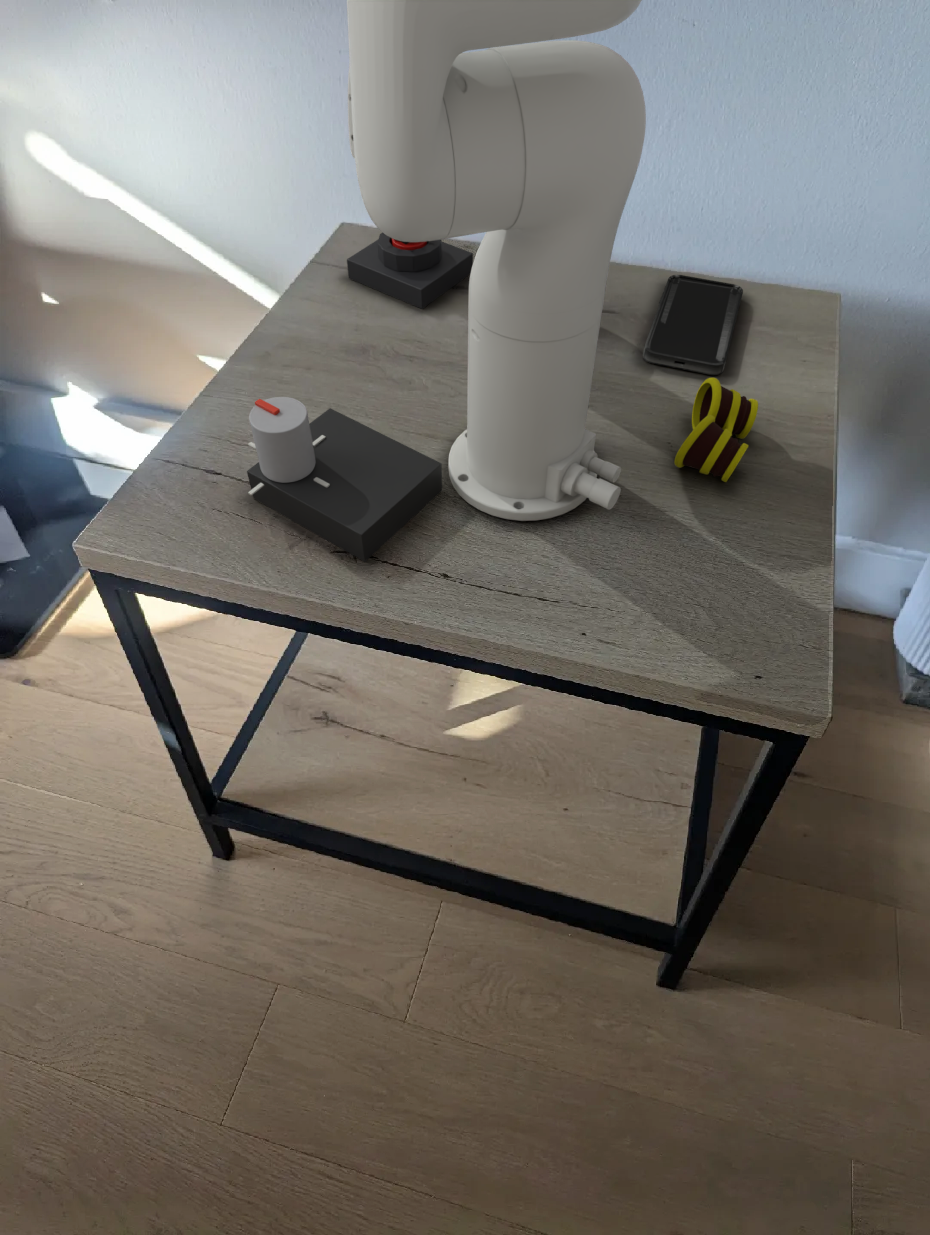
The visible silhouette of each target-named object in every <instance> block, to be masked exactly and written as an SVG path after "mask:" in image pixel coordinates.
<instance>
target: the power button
mask: <svg viewBox="0 0 930 1235" xmlns="http://www.w3.org/2000/svg"><path fill="white" fill-rule="evenodd" d="M392 245H393V246H394V247H396V248H399V249H401V250H415V249H420V248H423V247H424V246H426V245H427V241H425V242H409V243H408V244H404V243H402V242H401V241H396V240H394V239H393V238H392Z"/></svg>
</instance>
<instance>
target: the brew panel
mask: <svg viewBox="0 0 930 1235" xmlns="http://www.w3.org/2000/svg"><path fill="white" fill-rule="evenodd" d="M309 424H310V430H311V436H312V442H313V448H314V454H315V460H316V463H315V467H314V469H313V471H312V472H311V473H310V474H309V475H308V476H306V477H305V478H303V479H301V480H298V481H295V482H289V483H281V482H275V481H272V480H270V479H268V478H267V477H266V476H264V474H263V473H262V471H261V469H260V464H259V461H258V462H256V463H255V464H254V465H253V466H251V467H250V468H249V469H247V470H246V474H247V477H248V482H249V486H250V490H249V491H248V492H247V494H248V495H250V496H252V497H253V499H254V500H255V501H258V502H259V503H261V504H262V505H265V506H266V507H268V508H269V509H271V510H273V511H275V512H276V513H278V514H280V515H282V516H284V517H285V518H287V519H289V520H291V521H292V522H294V523H296V524H297V525H300V526H301V527H302V528H304V529H306V530H308V531H310V532H311V533H314V534H315V535H317V536H319V537H320V538H322V539H324V540H326V541H327V542H329V543H331V544H333V545H334V546H336V547H338V548H340V549H341V550H343V551H345V552H347V553H349V554H351V555H352V556H353V557H355V558H357V559H359V560H361V561H363V562H364V563H365V562H367V561H368V559H370V558H371V557H372V556H373V555H374V554H375V553H376V552H377V551H379V549H380V548H382V547H383V546H384V545H385V544H386V543H387V542H388V541H389V540H391V538H392V537H394V536H395V535H396V534H397V533H398V532H399V531H400V530H401V529H402V528H403V527H404V526H406V525H407V524H408V523H409V522H410V521H411V520H412V519H413V518H414V517H415V516H416V515H418V514H419V513H420V512H421V511H422V510H423V509H424V508H425V507H426V506H427V505H428V504H430V503H431V501H433V500H434V499H435V498H436V497H437V496H438V495H439V494H440V493H442V492H443V463H442V462H440V461H438V460H436V459H434V458H432V457H430V456H428V455H426V454H423V453H422V452H420V451H418V450H415V449H414V448H411V447H409V446H408V445H406V444H403V443H401V442H400V441H397V440H395V439H394V438H391V437H389V436H387V435H385V434H383V433H382V432H379V431H377V430H375V429H373V428H371V427H369V426H367V425H365V424H363V423H361V422H359V421H357V420H355V419H354V418H351V417H349V416H347V415H345V414H343V413H341V412H339V411H337V410H334V409H333V408H331V407H329V408H328V409H327V410H325V411H324V412H323V413H321V414H320V415H319V416H317V417H316V418H315V419H314V420H312V421H311V422H309ZM247 445H248V446H249V447H250V448H252V449H254V450H256V447H255V443H254V442H253V441H250V442H248V443H247Z"/></svg>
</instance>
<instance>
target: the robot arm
mask: <svg viewBox="0 0 930 1235" xmlns="http://www.w3.org/2000/svg"><path fill="white" fill-rule="evenodd" d="M642 1H643V0H346V10H347V11H346V13H347V14H346V16H347V35H348V54H349V56H348V58H349V66H348V75H347V124H348V125H347V126H348V140H349V141H348V142H349V148H350V153H351V155H352V158H353V159H354V162H355V171H356V177H357V182H358V186H359V192H360V196H361V200H362V202H363V204H364V208H365V210H366V212H367V214H368V216H369V218H370V220H371V221H372V223H373V224H374V226H376V228H377V229H378V230H379V231H380V233H382V232H383V233H384V234H385V235H387V236H389V237H391V238H393V239H394V240H396V241H401V242H402V243H404V244H408V243H409V242H425V241H434V240H441V241H442V240H446V239H453V238H459V237H466V236H471V235H477V234H484V233H485V234H484V236H483V238H482V239H481V241H480V243H479V246H478V249H477V251H476V253H475V257H474V258H473V265H472V269H471V274H469V279H468V280H469V281H468V304H467V305H468V306H467V307H468V308H467V311H468V312H467V313H468V314H467V315H468V316H467V319H468V320H467V393H466V394H467V395H466V396H467V401H466V402H467V403H466V404H467V405H466V406H467V407H466V408H467V409H466V410H467V412H466V429H465V430H463V432H462V433H460V435H459V436H458V437H457V438H456V439H455V440H454V442H453V443H452V445H451V447H450V451H449V454H448V463H447V464H448V466H447V467H448V478H449V480H450V482H451V485H452V487H453V488H454V490H455V491H456V492H457V494H458V496H460V497H461V498H462V499H463V500H464V501H465V502H467V503H468V504H469V505H471V506H472V507H474V508H475V509H477V510H478V511H479V512H480V511H481V512H483V513H485V514H488V515H491V516H493V517H497V518H501V519H504V520H511V521H520V522H526V521H540V520H549V519H552V518H556V517H558V516H562V515H565V514H566V513H568V512H570V511H572V510H574V509H576V508H577V507H578V506H580V505H581V504H583V502H585V501H586V500H587V499H588V500H589V502H592V503H594V504H596V505H598V506H600V507H602V508H604V509H606V510H612V509H613V508H614V506H615V505H616V503H617V502H618V500H619V498H620V496H621V487H620V486H618V485H616V484H614V483H616V482H617V481H618V479H619V477H620V475H621V473H622V467H621V466H619V465H617V464H615V463H612V462H610V461H608V460H603V459H601V458H600V457H598V453H597V452H596V451H595V445H596V438H597V433H596V432H593V431H591V430H588V429H587V428H586V425H587V418H588V411H589V404H590V399H591V398H590V396H591V390H592V384H593V375H594V370H595V362H596V356H597V348H598V342H599V334H600V327H601V321H602V313H603V309H604V301H605V294H606V290H607V289H606V288H607V282H608V276H609V275H608V274H609V269H610V264H611V258H612V255H613V251H614V244H615V241H616V236H617V232H618V229H619V225H620V222H621V219H622V216H623V213H624V209H625V207H626V204H627V201H628V199H629V195H630V193H631V189H632V187H633V184H634V182H635V178H636V175H637V172H638V169H639V165H640V162H641V157H642V153H643V150H644V143H645V138H646V126H647V119H646V118H647V110H646V102H645V101H646V100H645V96H644V92H643V88H642V85H641V82H640V79H639V78H638V75H637V74H636V72H635V70H634V69H633V66H631V64H630V63H629V62H628V61H627V60H626V59H625V58H624V57H623V56H622V55H621V54H620V53H618V52H616V51H615V50H613V49H611V48H610V47H608V46H605V45H603V44H599V43H595V42H592V41H585V40H576V39H573V40H572V39H571V40H570V39H569V40H563V39H568V38H575V37H580V36H586V35H591V34H595V33H599V32H603V31H606V30H607V31H608V30H609V29H612V28H614V27H616V26H618V25H620V24H622V23H623V22H624V21H626V20H627V19H628V18H630V17H631V16H632V14H634V13H635V11H637V9H638V8H639V6H640V4H641V2H642ZM561 39H562V40H561ZM483 49H484V50H483ZM598 476H599V478H597V477H598Z"/></svg>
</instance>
